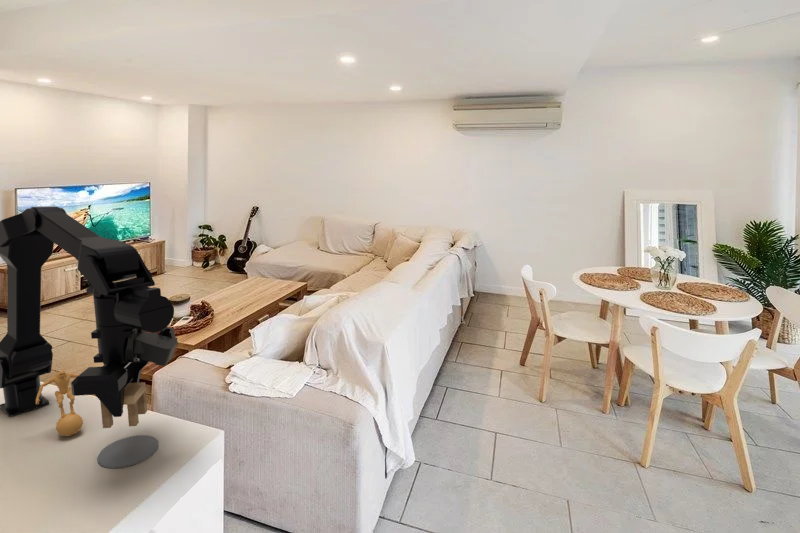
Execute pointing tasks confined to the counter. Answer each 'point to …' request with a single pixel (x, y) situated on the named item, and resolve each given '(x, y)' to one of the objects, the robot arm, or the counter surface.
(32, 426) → the counter surface
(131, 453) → the charcoal mat
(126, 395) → the oak stool
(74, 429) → the figurine
